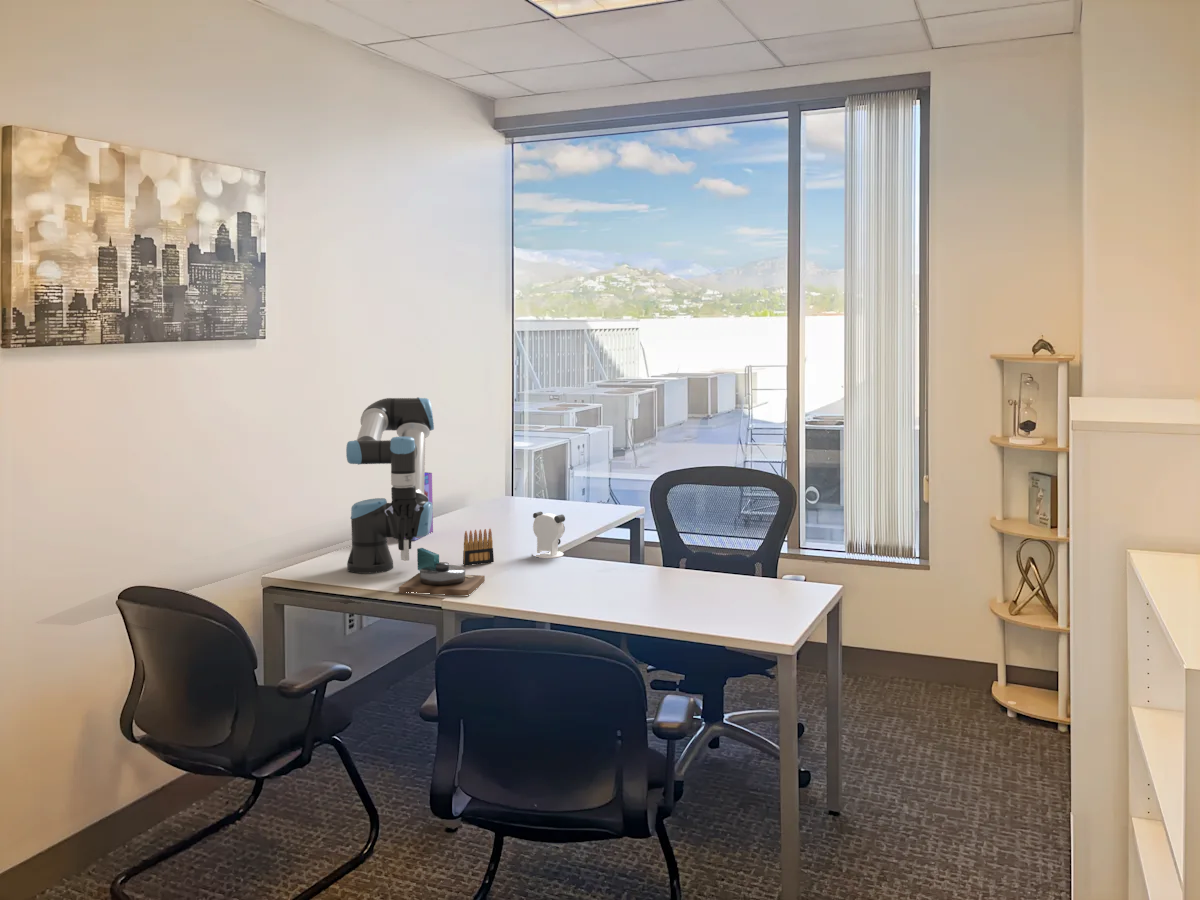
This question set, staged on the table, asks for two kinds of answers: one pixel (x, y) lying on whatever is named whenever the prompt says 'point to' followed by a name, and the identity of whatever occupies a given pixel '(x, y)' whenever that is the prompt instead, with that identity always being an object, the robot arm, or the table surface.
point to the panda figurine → (548, 533)
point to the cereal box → (429, 494)
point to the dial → (437, 569)
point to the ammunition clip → (478, 548)
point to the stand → (443, 586)
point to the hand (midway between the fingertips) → (405, 559)
